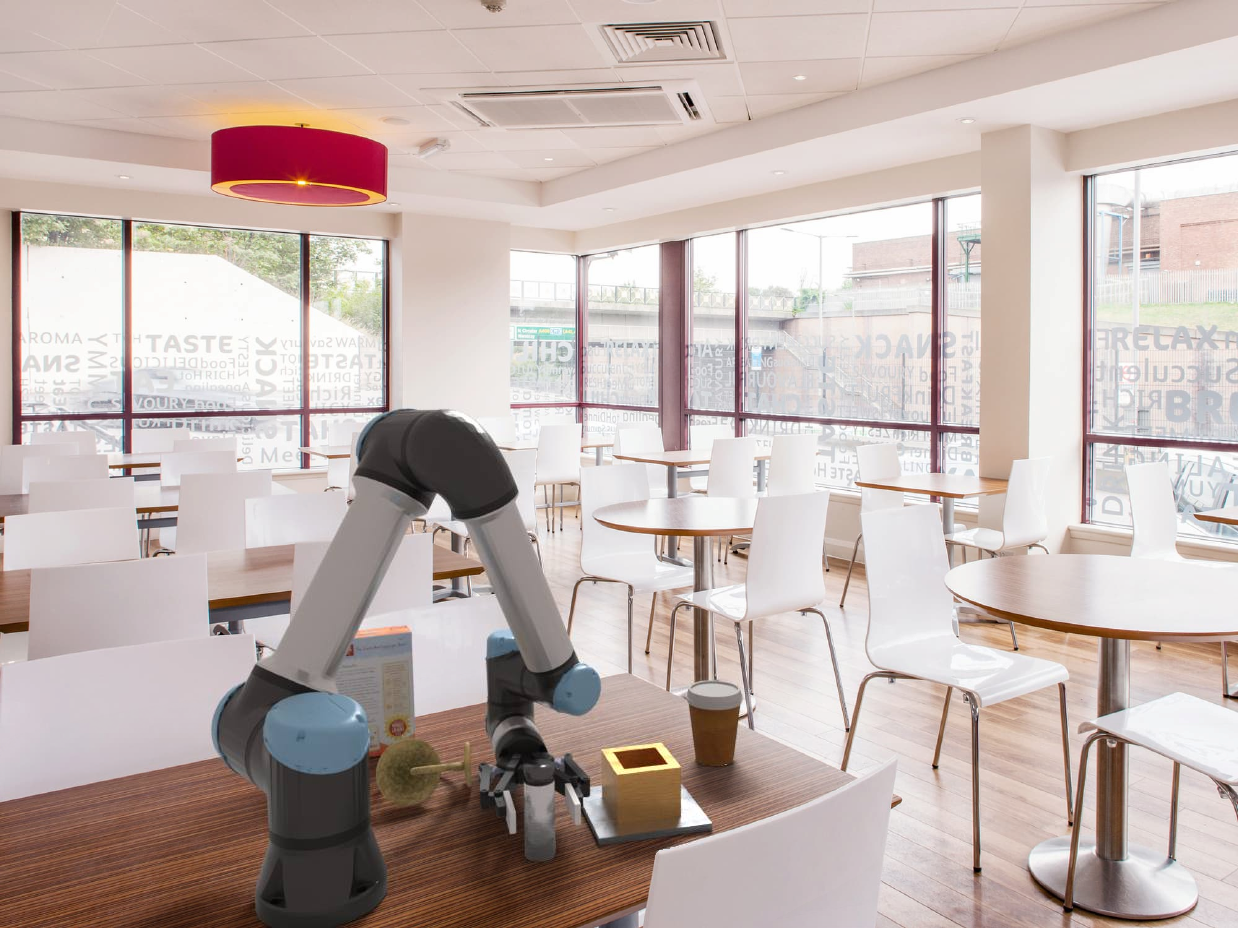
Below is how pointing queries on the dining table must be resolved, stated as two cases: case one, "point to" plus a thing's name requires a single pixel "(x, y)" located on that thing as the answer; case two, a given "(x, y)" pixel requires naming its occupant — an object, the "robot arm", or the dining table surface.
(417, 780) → the wall sconce
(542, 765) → the capped glass tube
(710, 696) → the disposable coffee cup
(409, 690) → the cracker box
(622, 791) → the yellow open box
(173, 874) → the dining table surface
